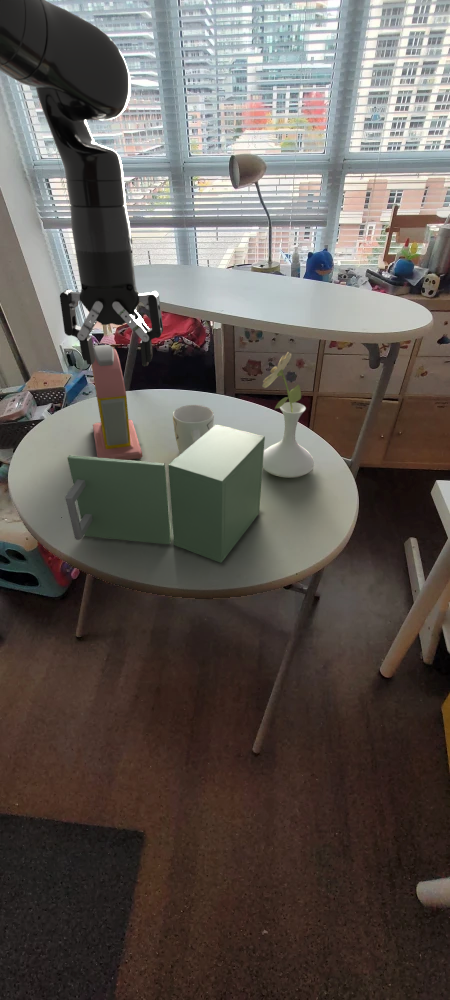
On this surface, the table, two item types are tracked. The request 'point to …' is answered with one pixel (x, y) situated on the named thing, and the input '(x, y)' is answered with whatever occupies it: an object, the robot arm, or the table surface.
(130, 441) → the yellow alarm clock
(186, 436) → the mug
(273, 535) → the table surface
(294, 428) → the flower in vase
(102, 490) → the cupboard door
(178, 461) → the cupboard
